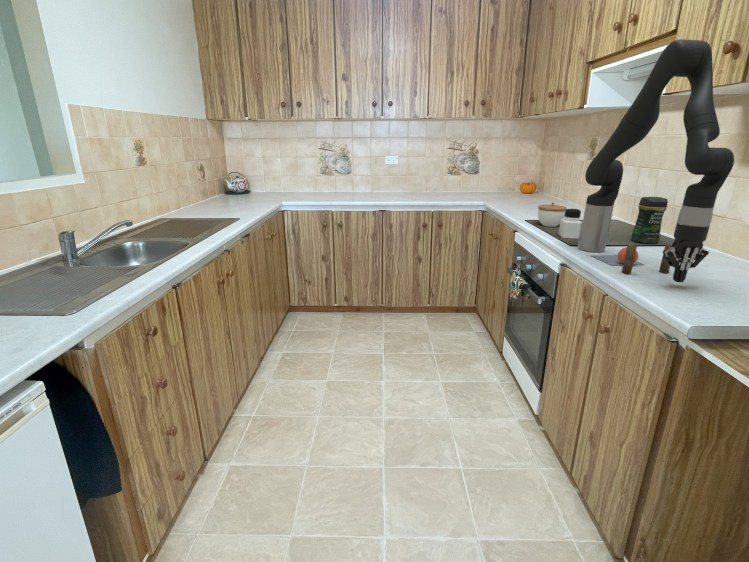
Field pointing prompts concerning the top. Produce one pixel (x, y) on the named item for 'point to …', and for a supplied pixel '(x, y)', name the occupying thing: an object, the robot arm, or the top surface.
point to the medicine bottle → (570, 224)
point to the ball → (622, 255)
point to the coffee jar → (649, 219)
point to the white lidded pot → (551, 214)
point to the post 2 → (665, 261)
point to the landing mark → (612, 259)
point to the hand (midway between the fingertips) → (678, 281)
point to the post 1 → (629, 259)
